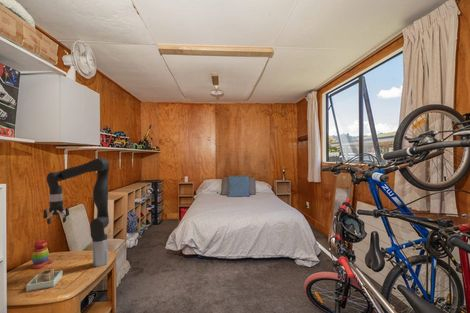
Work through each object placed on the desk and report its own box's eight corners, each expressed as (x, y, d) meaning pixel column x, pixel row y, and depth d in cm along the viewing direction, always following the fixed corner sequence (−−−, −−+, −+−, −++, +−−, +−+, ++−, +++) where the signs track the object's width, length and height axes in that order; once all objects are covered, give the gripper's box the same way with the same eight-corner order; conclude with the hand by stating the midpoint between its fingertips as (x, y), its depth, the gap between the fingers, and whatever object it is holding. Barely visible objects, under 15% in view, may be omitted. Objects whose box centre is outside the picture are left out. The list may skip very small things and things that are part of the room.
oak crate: (53, 278, 140) (53, 269, 140) (49, 283, 135) (49, 273, 135) (42, 280, 138) (41, 270, 138) (37, 285, 133) (36, 275, 133)
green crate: (62, 275, 145) (62, 270, 145) (53, 286, 132) (53, 280, 132) (37, 279, 140) (37, 274, 140) (26, 291, 128) (26, 285, 128)
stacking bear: (38, 269, 154) (38, 243, 154) (27, 268, 156) (26, 242, 156) (54, 261, 164) (53, 237, 164) (43, 260, 166) (42, 236, 166)
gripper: (70, 198, 164) (70, 220, 164) (46, 200, 159) (46, 222, 159) (66, 200, 157) (66, 223, 157) (41, 202, 152) (41, 225, 152)
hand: (56, 223), depth 158 cm, fingers open, 8 cm apart
